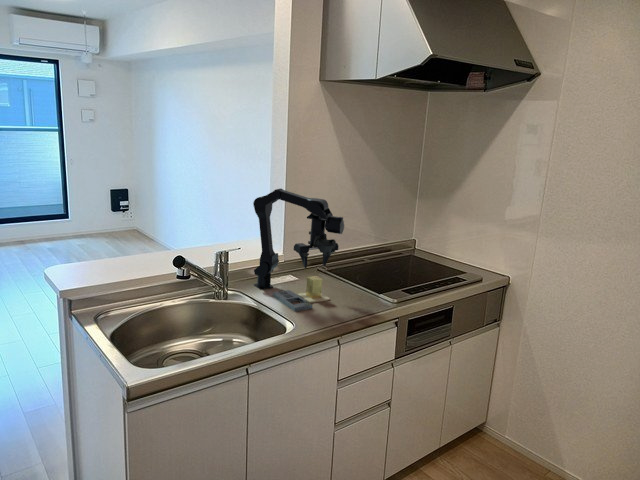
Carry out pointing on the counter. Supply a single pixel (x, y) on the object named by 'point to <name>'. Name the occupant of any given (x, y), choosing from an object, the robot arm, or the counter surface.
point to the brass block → (314, 287)
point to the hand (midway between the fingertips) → (314, 266)
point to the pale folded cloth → (308, 299)
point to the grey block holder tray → (292, 300)
